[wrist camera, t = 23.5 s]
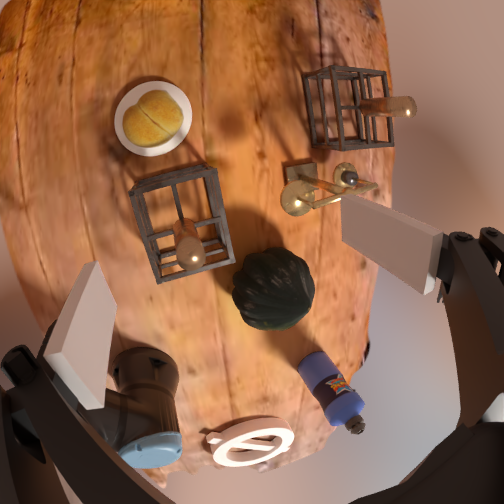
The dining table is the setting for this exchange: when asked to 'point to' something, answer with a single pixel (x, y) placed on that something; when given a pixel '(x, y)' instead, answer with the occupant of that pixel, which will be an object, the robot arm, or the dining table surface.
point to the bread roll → (152, 119)
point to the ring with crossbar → (250, 441)
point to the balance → (318, 187)
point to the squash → (273, 289)
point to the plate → (133, 98)
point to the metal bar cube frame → (183, 224)
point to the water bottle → (332, 392)
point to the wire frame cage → (356, 107)
